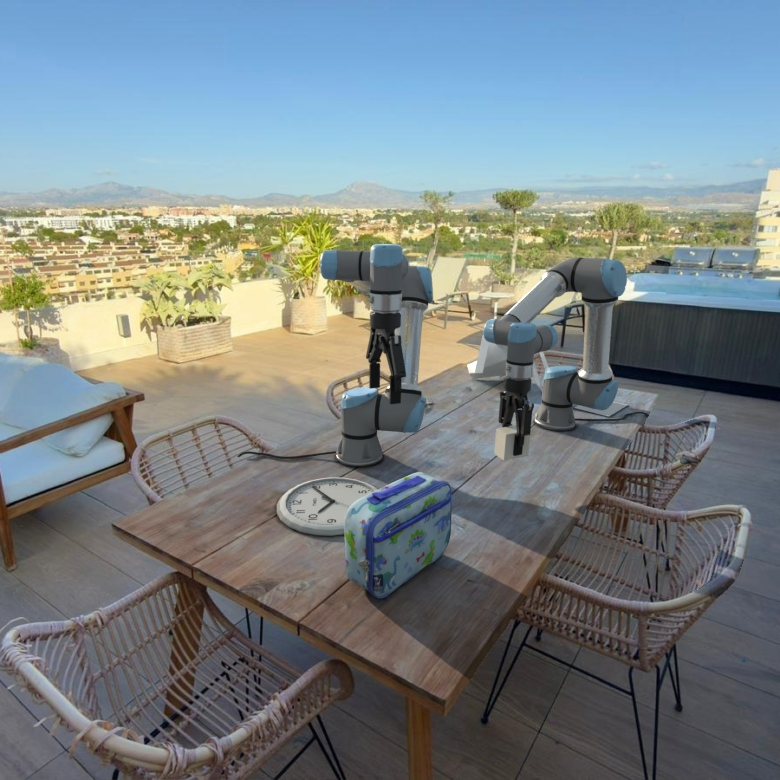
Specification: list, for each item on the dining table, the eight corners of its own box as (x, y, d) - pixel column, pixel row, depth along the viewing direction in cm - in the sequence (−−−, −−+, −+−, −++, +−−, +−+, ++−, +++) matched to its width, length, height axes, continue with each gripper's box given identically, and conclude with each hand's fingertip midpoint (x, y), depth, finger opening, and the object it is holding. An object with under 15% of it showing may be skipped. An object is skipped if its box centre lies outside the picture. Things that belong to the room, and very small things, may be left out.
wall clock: (392, 527, 129) (268, 531, 127) (391, 533, 130) (269, 537, 127) (383, 473, 158) (282, 475, 155) (383, 478, 158) (282, 480, 156)
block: (494, 454, 159) (496, 428, 156) (518, 449, 162) (520, 424, 160) (503, 460, 154) (506, 434, 152) (528, 456, 158) (530, 430, 155)
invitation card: (608, 416, 214) (573, 407, 224) (608, 416, 214) (573, 408, 224) (628, 404, 229) (594, 396, 238) (628, 405, 229) (594, 397, 238)
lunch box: (372, 611, 103) (373, 518, 97) (338, 585, 111) (336, 497, 104) (455, 557, 121) (460, 475, 115) (420, 537, 128) (424, 459, 122)
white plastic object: (488, 421, 263) (468, 398, 238) (469, 347, 285) (449, 320, 260) (560, 397, 251) (547, 370, 226) (534, 322, 273) (519, 290, 248)
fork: (417, 411, 216) (418, 406, 216) (428, 400, 231) (428, 395, 230) (423, 412, 215) (424, 407, 215) (434, 400, 230) (434, 396, 229)
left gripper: (353, 304, 135) (354, 383, 141) (391, 320, 113) (389, 412, 119) (380, 303, 138) (379, 380, 144) (422, 318, 116) (419, 408, 122)
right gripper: (489, 370, 157) (484, 441, 164) (527, 387, 141) (519, 465, 149) (510, 368, 160) (504, 438, 167) (549, 384, 144) (541, 461, 151)
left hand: (384, 395), depth 132 cm, fingers open, 13 cm apart
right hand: (511, 450), depth 158 cm, fingers closed on block, 5 cm apart
